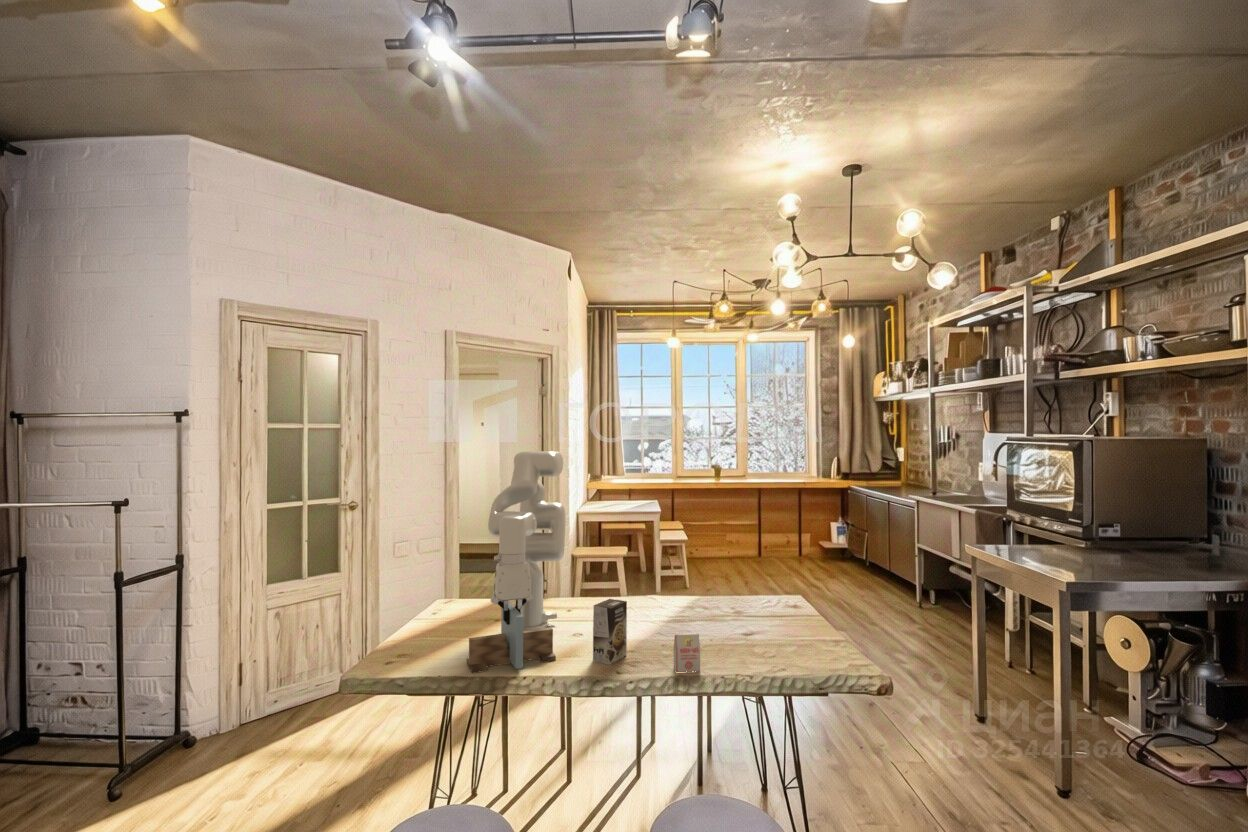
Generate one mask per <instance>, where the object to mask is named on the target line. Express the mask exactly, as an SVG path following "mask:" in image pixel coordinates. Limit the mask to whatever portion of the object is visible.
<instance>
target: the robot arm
mask: <svg viewBox="0 0 1248 832" xmlns="http://www.w3.org/2000/svg"><path fill="white" fill-rule="evenodd" d="M563 469H564V458H563V455H562V453H561V452H560V451H555V450H553V451H550V450H548V451H546V450H544V451H542V450H541V451H540V450H538V451H537V450H536V451H535V450H534V451H533V450H529V451H522V452H521V451H520V452H519V453H516V454H515V455H514V458H513V472H512V477H511V482H510V485H508V486H507V487H506V488H504V489H503V490H502V491H501V492H499V494H498V495H497V496H496V497H495V498H494V500H493V502H492V504H491V507H490V511H489V517H488V522H487V523H488V524H487V525H488V526H487V527H488V532H489V533H490V535H491V536H493V537H499V538H498V541H499V542H498V544H499V545H498V546H499V547H498V551H499V552H498V554H496V555H494V556H493V561H494V562H495V561H497V562H498V563H496V566H495V571H494V572H495V573H494V579H493V580H494V581H493V593H492V596H491V598H490V602H491V604H494V605H497V606H499V607H500V608H501V609H502V608H503V620H504V621H505V623H506V624H507V625H509V624H510V611H509V608H508V601H514V607H515V608H516V609H517V610H518V611H519V612H520V613H521V614H522V616H523V631H526V630H534V629H541V628H548V626H549V624H548V623H549V622H548V621H549V620H556V619H557V618H558V614H557V612H551V611H548V612H545V611H544V572H543V570H542V568H541V567H540V565H539V564H538V563H537V562H559V561H561V560H562V559H563V558H564V553H565V541H566V540H565V539H566V509H565V507H564V505H563V504H562V503H560V502H555V501H554V502H553V501H546V488H545V486H544V484H543V483H542V482H541V481H540V480H539V478H540V477H544V478H545V477H548V478H549V477H558V476H560V474H561V473H562V471H563ZM517 504H520V505H519V511H511V510H509V511H507V510H506V509H508V508H510V507H512V506H514V505H515V506H516V505H517ZM537 530H538V531H539V530H540V531H545V530H546V531H551V532H535V531H537Z"/></svg>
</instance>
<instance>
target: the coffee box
mask: <svg viewBox="0 0 1248 832" xmlns="http://www.w3.org/2000/svg"><path fill="white" fill-rule="evenodd" d="M627 602H628V601H627V600H621V599H614V598H613V599H612V598H608V599H606V600H604V601H601V602H598V603H596V604H593V620H592V623H593V626H592V661H593V662H597V663H600V662H601V664H604V663H605V665H609V666H610V665H612V663H613V664H614V663H616V662H617V661H618V662H619V661H620V660H622V659H623V658H625V657H627V644H628V643H627V640H628V639H627V638H628V637H627V635H628V633H627V632H628V631H627V626H628V625H627V624H628V623H627V622H628V620H627V619H628V614H627V613H628V612H627V609H628V607H627V606H628V605H627V604H628V603H627ZM624 656H625V657H624ZM619 659H620V660H619Z"/></svg>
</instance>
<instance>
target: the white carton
mask: <svg viewBox="0 0 1248 832" xmlns="http://www.w3.org/2000/svg"><path fill="white" fill-rule="evenodd" d="M700 645H701V643H700V634H699V633H685V634H684V633H681V634H680V633H679V634H674V641H673V670H674V669H675V670H674V672H675V671H676V672H686V671H687V672H692V671H694V672H695V671H696V672H700V673H701V647H700ZM676 672H675V673H676Z"/></svg>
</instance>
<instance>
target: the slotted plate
mask: <svg viewBox="0 0 1248 832" xmlns="http://www.w3.org/2000/svg"><path fill="white" fill-rule="evenodd" d="M508 608H509V611H510V624H509V625H507V624H506V623H505V621H504V620H503V608H501V612H500V613H501V621H500V622H501V629H500V631H501V633H500V634H504V633H505V634H506V635H507V647H510V661H511V663H510V664H511V665H512V666H513V667H514V668H515V670H516V669H517V670H518V669H522V668H524V661H523V616H522V614H521V613H520V612H519V611H518V610H517V609H516V608H515V605H514V604H512V603H511V601H510V600H508Z"/></svg>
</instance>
